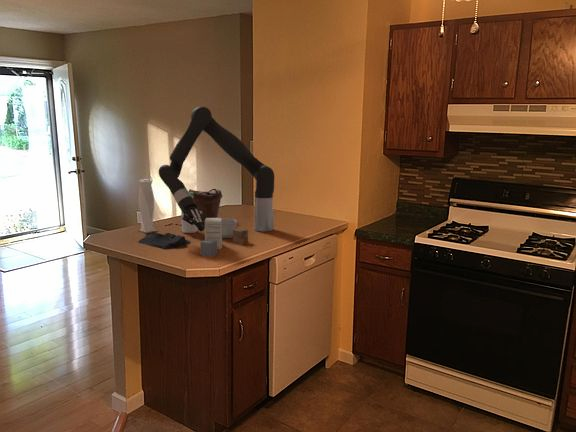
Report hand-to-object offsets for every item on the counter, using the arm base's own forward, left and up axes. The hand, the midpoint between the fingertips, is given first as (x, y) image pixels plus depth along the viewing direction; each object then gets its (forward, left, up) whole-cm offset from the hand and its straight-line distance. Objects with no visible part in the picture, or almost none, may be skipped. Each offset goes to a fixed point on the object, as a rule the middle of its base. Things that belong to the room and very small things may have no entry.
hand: (202, 230), depth 228 cm
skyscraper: (+3, -38, -7) cm, 38 cm away
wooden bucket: (-35, -38, -7) cm, 52 cm away
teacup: (-16, -4, -7) cm, 18 cm away
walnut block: (-14, +10, -6) cm, 19 cm away
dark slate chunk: (+11, -14, -7) cm, 19 cm away
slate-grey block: (+10, +15, -6) cm, 19 cm away
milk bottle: (-11, -23, -7) cm, 26 cm away
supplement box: (0, +7, -7) cm, 10 cm away
